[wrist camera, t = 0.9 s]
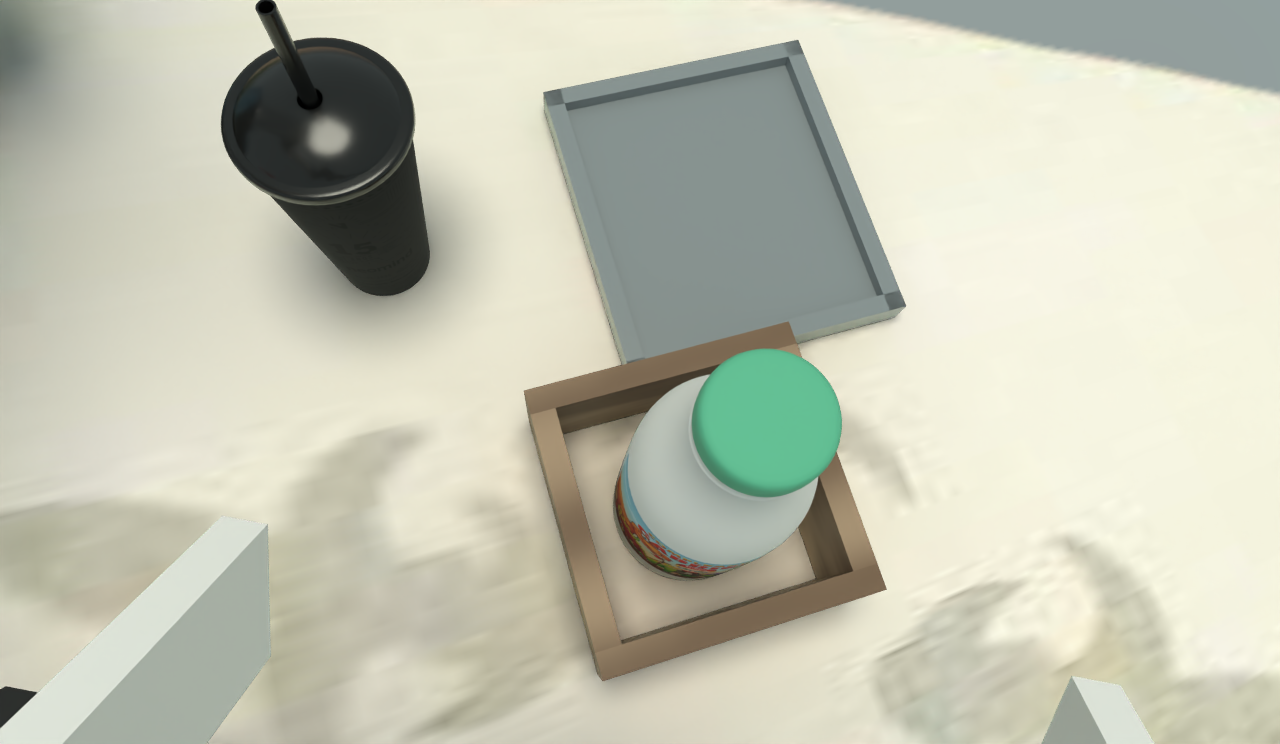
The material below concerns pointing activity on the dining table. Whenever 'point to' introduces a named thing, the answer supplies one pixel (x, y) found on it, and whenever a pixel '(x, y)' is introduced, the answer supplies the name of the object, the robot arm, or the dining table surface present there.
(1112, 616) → the dining table surface
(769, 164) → the tray
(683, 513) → the milk bottle
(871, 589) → the holder
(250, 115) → the drinking cup
